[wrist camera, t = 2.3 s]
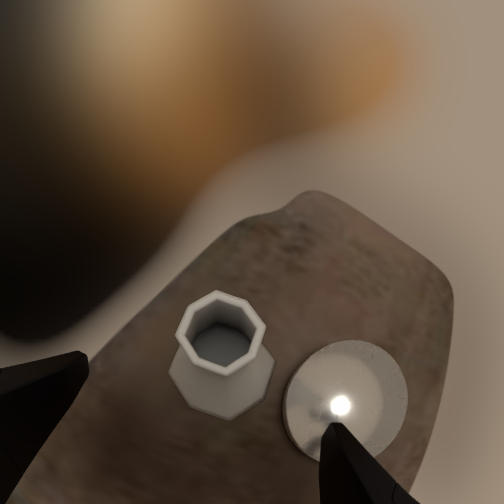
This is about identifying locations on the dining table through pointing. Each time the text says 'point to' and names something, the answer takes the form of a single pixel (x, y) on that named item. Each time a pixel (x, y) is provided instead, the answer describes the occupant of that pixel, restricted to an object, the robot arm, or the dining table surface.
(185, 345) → the flask
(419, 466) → the dining table surface
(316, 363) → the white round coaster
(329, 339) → the dining table surface
